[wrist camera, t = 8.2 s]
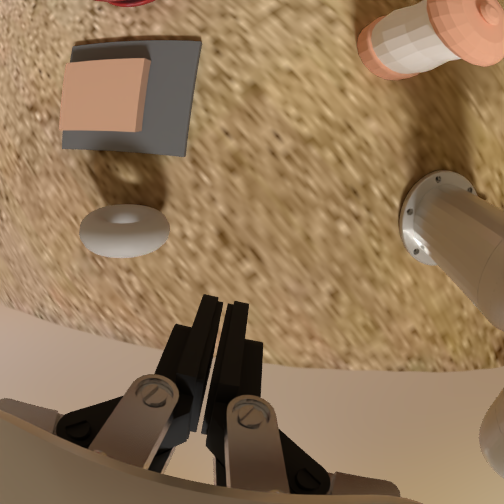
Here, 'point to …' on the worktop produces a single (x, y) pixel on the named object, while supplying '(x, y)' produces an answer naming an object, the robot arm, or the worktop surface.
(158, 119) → the mat
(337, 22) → the worktop surface
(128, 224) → the donut
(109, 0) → the plant pot
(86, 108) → the tile
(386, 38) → the pepper shaker
